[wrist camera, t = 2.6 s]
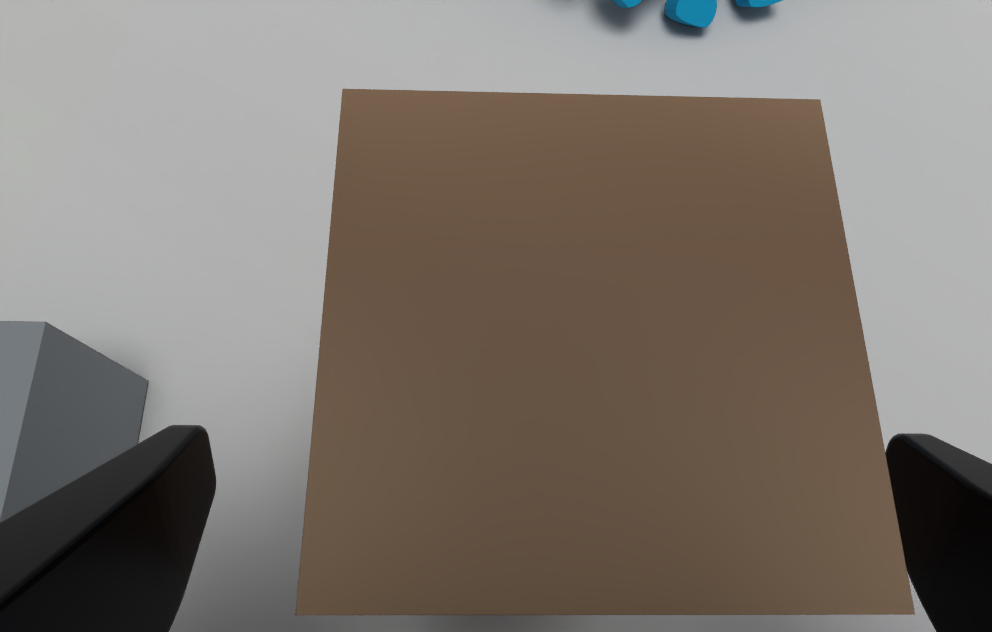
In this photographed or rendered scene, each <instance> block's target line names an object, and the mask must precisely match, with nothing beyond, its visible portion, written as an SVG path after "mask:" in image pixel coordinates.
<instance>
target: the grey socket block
mask: <svg viewBox="0 0 992 632" xmlns="http://www.w3.org/2000/svg"><path fill="white" fill-rule="evenodd" d="M147 385H148V380H146V379H144V378H142V377H141V376H139V375H137V374H135V373H134V372H132V371H130V370H128V369H127V368H125V367H123V366H122V365H120V364H118V363H116V362H115V361H113V360H111V359H109V358H108V357H106V356H104V355H102V354H101V353H99V352H97V351H96V350H94V349H92V348H90V347H89V346H87V345H85V344H83V343H82V342H80V341H78V340H76V339H75V338H73V337H71V336H69V335H68V334H66V333H64V332H63V331H61V330H59V329H57V328H56V327H54V326H52V325H50V324H49V323H47V322H24V321H0V522H1V521H3V520H5V519H7V518H9V517H10V516H12V515H14V514H16V513H17V512H19V511H21V510H23V509H24V508H26V507H28V506H30V505H31V504H33V503H35V502H37V501H38V500H40V499H42V498H44V497H45V496H47V495H49V494H51V493H53V492H54V491H56V490H58V489H60V488H61V487H63V486H65V485H67V484H68V483H70V482H72V481H74V480H75V479H77V478H79V477H81V476H82V475H84V474H86V473H88V472H89V471H91V470H93V469H95V468H96V467H98V466H100V465H102V464H104V463H105V462H107V461H109V460H111V459H112V458H114V457H116V456H118V455H119V454H121V453H123V452H125V451H126V450H128V449H130V448H132V447H133V446H135V445H137V443H138V437H139V431H140V426H141V420H142V414H143V408H144V402H145V397H146V391H147Z"/></svg>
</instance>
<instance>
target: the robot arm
mask: <svg viewBox="0 0 992 632" xmlns="http://www.w3.org/2000/svg"><path fill="white" fill-rule="evenodd" d="M885 455H886V460H887V466H888V471H889V477H890V482H891V487H892V493H893V498H894V504H895V509H896V515H897V520H898V525H899V531H900V536H901V542H902V547H903V553H904V558H905V563H906V569H907V572H908V575H909V577H910V579H911V582H912V584H913V586H914V589H915V591H916V593H917V595H918V597H919V599H920V601H921V603H922V606H923V607H924V609H925V611H926V613H927V615H928V617H929V619H930V621H931V623H932V624H933V626H934V628H935V630H936V632H992V464H990V463H988V462H986V461H984V460H982V459H980V458H978V457H976V456H974V455H971V454H969V453H967V452H965V451H963V450H961V449H959V448H957V447H955V446H952V445H950V444H948V443H946V442H944V441H942V440H940V439H938V438H936V437H933V436H931V435H928V434H897V435H895V436H893V437H892V438H891V440H890V441H889V443H888V446H887V449H886V452H885ZM215 490H216V475H215V469H214V464H213V458H212V453H211V447H210V442H209V437H208V433H207V431H206V429H205V428H203V427H202V426H200V425H172V426H169V427H167V428H165V429H163V430H162V431H160V432H158V433H156V434H155V435H153V436H151V437H149V438H148V439H146V440H144V441H142V442H140V443H139V444H137V445H135V446H133V447H132V448H130V449H128V450H126V451H125V452H123V453H121V454H119V455H118V456H116V457H114V458H112V459H111V460H109V461H107V462H105V463H104V464H102V465H100V466H98V467H96V468H95V469H93V470H91V471H89V472H88V473H86V474H84V475H82V476H81V477H79V478H77V479H75V480H74V481H72V482H70V483H68V484H67V485H65V486H63V487H61V488H60V489H58V490H56V491H54V492H53V493H51V494H49V495H47V496H45V497H44V498H42V499H40V500H38V501H37V502H35V503H33V504H31V505H30V506H28V507H26V508H24V509H23V510H21V511H19V512H17V513H16V514H14V515H12V516H10V517H9V518H7V519H5V520H3V521H1V522H0V632H169V630H170V628H171V626H172V624H173V621H174V619H175V616H176V614H177V611H178V609H179V606H180V604H181V602H182V599H183V596H184V593H185V590H186V587H187V584H188V580H189V577H190V574H191V571H192V567H193V564H194V561H195V557H196V554H197V551H198V548H199V544H200V541H201V538H202V535H203V531H204V528H205V525H206V521H207V518H208V515H209V512H210V508H211V505H212V502H213V499H214V495H215Z"/></svg>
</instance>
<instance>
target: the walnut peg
mask: <svg viewBox="0 0 992 632" xmlns="http://www.w3.org/2000/svg"><path fill="white" fill-rule="evenodd" d="M825 614H915V612H914V607H913V601H912V596H911V591H910V585H909V580H908V574H907V569H906V563H905V558H904V553H903V547H902V542H901V536H900V531H899V525H898V520H897V515H896V509H895V504H894V498H893V493H892V487H891V482H890V477H889V471H888V466H887V460H886V455H885V449H884V444H883V439H882V433H881V428H880V422H879V417H878V411H877V406H876V401H875V395H874V390H873V384H872V379H871V373H870V368H869V362H868V357H867V352H866V346H865V341H864V335H863V330H862V324H861V319H860V314H859V308H858V303H857V297H856V292H855V286H854V281H853V276H852V270H851V265H850V259H849V254H848V248H847V243H846V238H845V232H844V227H843V221H842V216H841V210H840V205H839V200H838V194H837V189H836V183H835V178H834V172H833V167H832V162H831V156H830V151H829V145H828V140H827V134H826V129H825V123H824V118H823V113H822V107H821V102H820V100H814V99H770V98H725V97H681V96H637V95H592V94H548V93H503V92H459V91H414V90H370V89H343V90H342V102H341V113H340V124H339V135H338V146H337V158H336V169H335V180H334V191H333V202H332V214H331V225H330V236H329V247H328V258H327V270H326V281H325V292H324V303H323V314H322V325H321V337H320V348H319V359H318V370H317V381H316V393H315V404H314V415H313V426H312V437H311V449H310V460H309V471H308V482H307V493H306V505H305V516H304V527H303V538H302V549H301V561H300V572H299V583H298V594H297V605H296V615H825Z"/></svg>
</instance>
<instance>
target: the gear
mask: <svg viewBox="0 0 992 632" xmlns="http://www.w3.org/2000/svg"><path fill="white" fill-rule="evenodd" d="M613 1H614V2H615V3H616V5H617V6H618V7H625V8H630V7H633V6H636V5H637V4H639V3H640V2H641V1H642V0H613ZM779 1H782V0H735V2H736V4H737V6H743V7H764V6H768V5H771V4H774V3H777V2H779ZM716 8H717V2H716V0H667V1H666V4H665V14H666V15H667V16H668V17H669V18H670V19H672V20H674V21H676V22H678V23H681V24H684V25H689V26H695V27H704V28H706V27H707V26H708V25H709V24H710V23H711V22H712V20H713V19H714V16H715V13H716Z"/></svg>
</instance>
